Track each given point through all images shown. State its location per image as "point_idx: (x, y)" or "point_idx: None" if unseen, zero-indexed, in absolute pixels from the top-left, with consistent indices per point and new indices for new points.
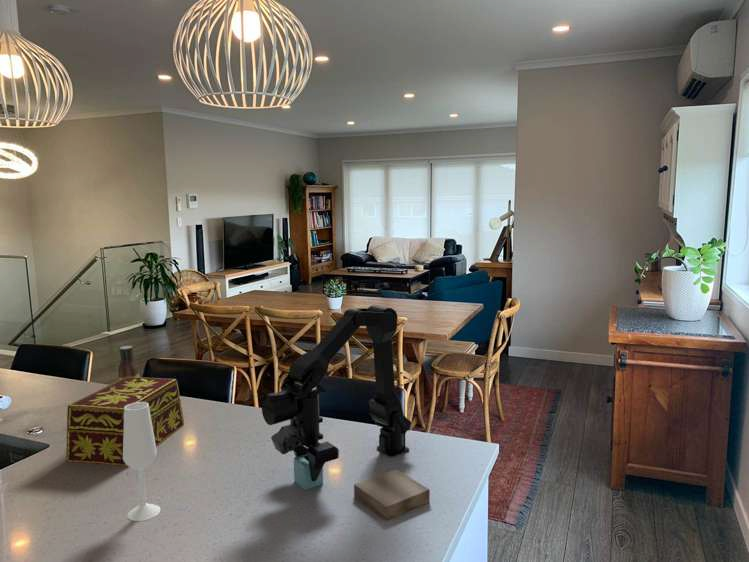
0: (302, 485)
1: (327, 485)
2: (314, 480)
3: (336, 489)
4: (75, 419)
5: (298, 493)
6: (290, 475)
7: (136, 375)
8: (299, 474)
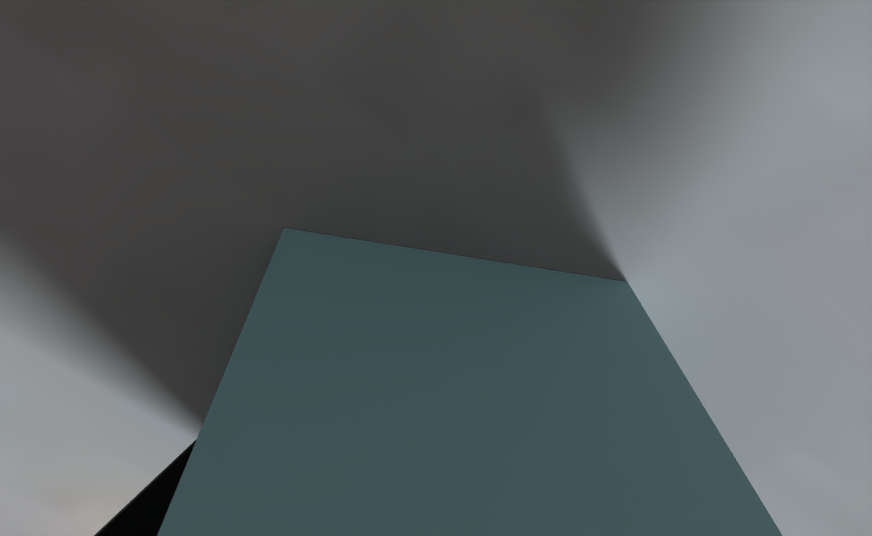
0: (348, 264)
1: None
2: None
3: (15, 495)
4: None
5: (254, 84)
6: (807, 350)
7: None
8: (465, 393)
